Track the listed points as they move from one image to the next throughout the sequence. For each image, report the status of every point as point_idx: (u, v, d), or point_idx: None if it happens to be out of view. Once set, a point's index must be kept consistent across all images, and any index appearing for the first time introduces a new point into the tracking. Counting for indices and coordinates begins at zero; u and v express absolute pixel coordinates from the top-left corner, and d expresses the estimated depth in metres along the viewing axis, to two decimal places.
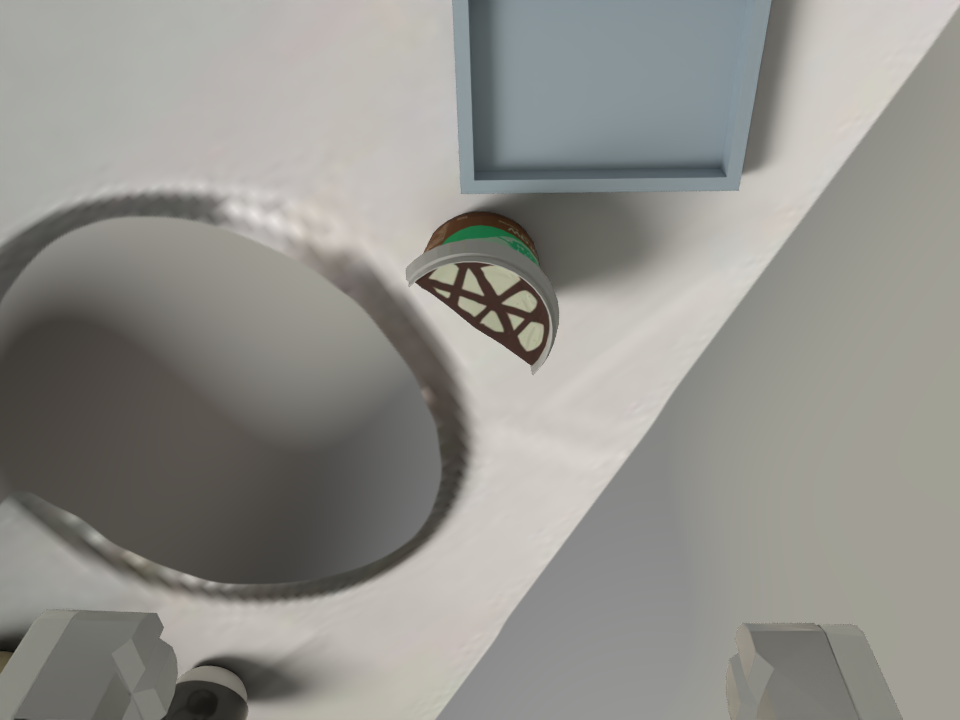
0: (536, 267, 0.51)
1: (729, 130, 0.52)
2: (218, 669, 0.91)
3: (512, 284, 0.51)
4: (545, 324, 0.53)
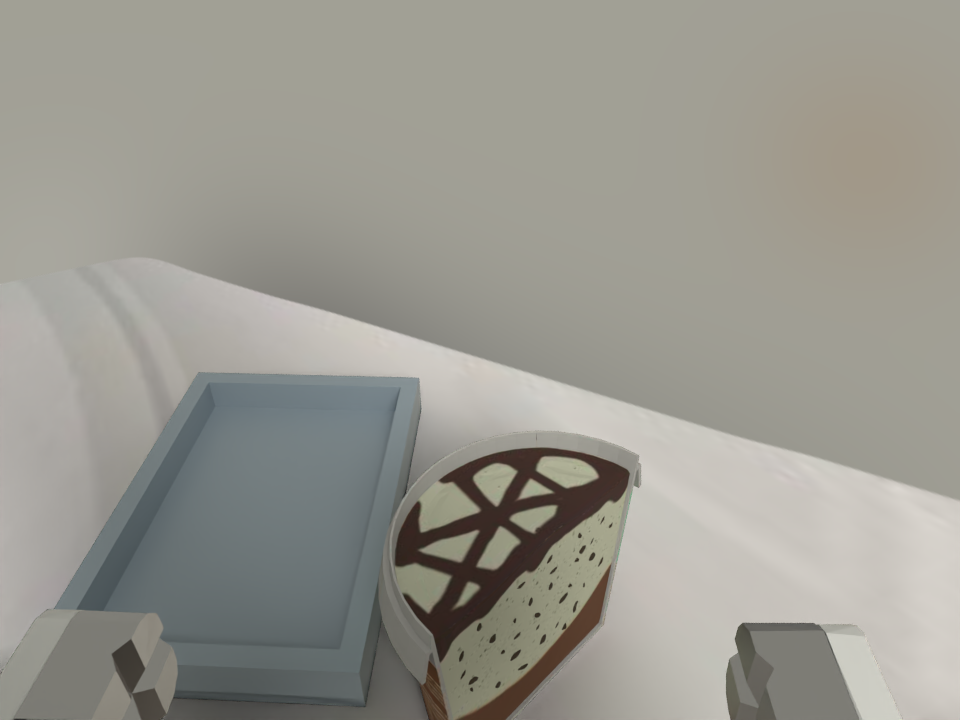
0: None
1: (354, 400, 0.47)
2: None
3: (459, 491, 0.29)
4: (541, 453, 0.31)
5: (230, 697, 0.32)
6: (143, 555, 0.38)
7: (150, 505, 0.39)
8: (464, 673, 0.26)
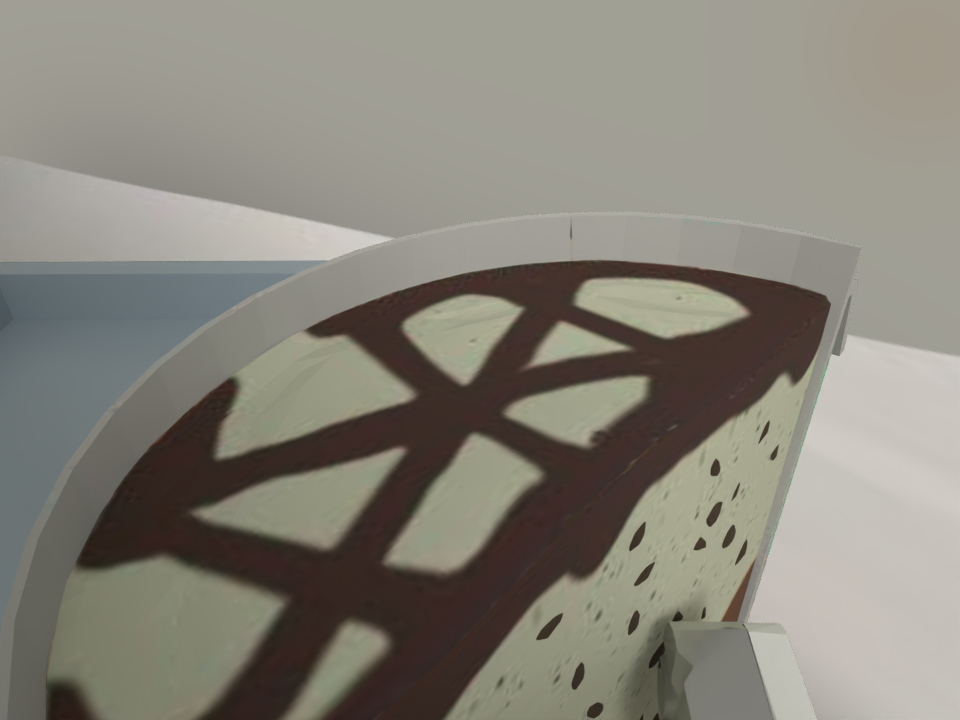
0: None
1: None
2: None
3: (360, 354, 0.10)
4: (584, 273, 0.12)
5: None
6: None
7: None
8: None
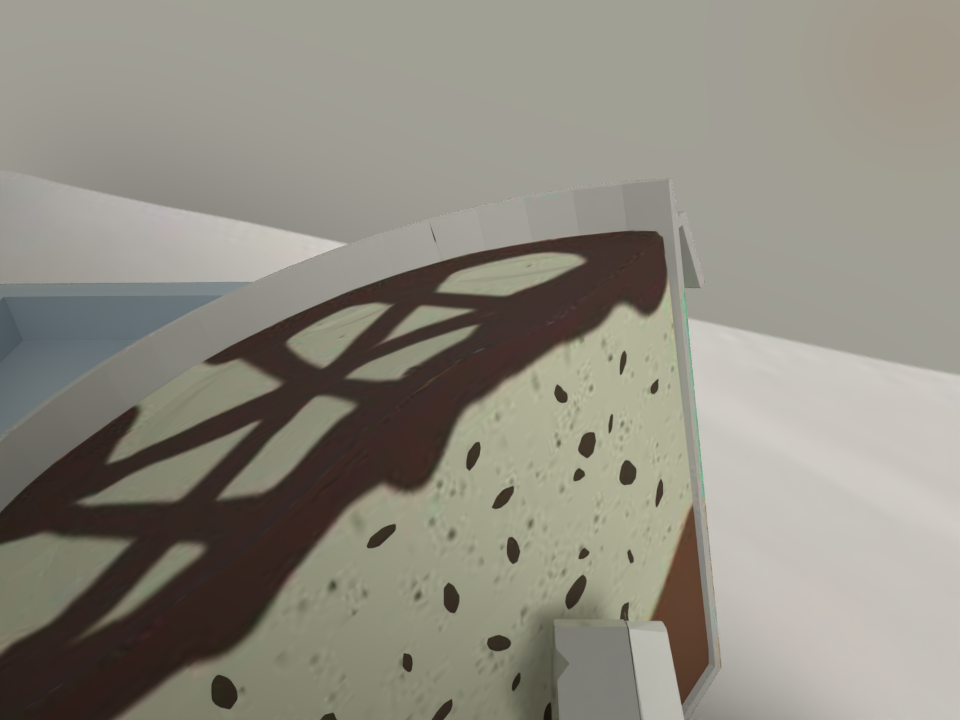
0: None
1: None
2: None
3: (246, 367, 0.12)
4: (452, 268, 0.13)
5: None
6: None
7: None
8: None
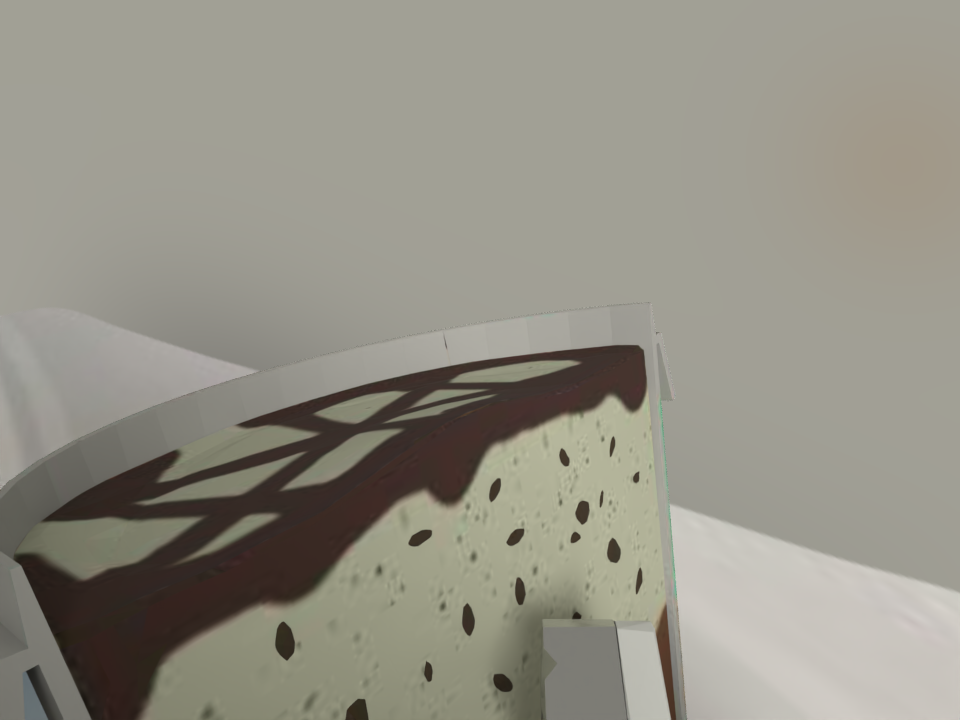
0: None
1: None
2: None
3: (279, 428, 0.13)
4: (460, 371, 0.15)
5: None
6: None
7: None
8: None
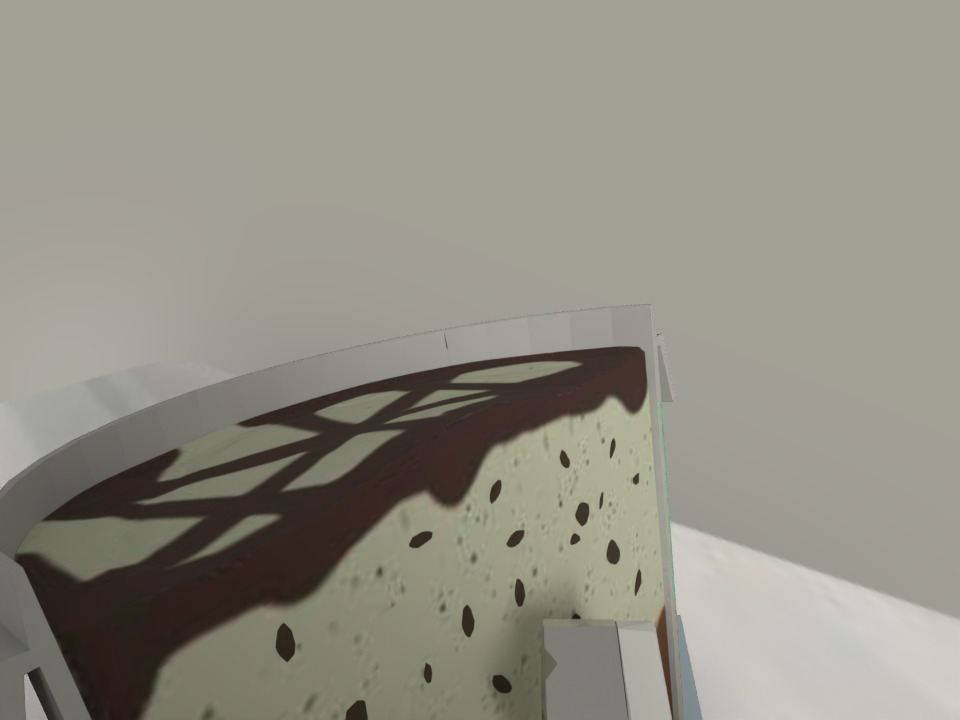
0: None
1: None
2: None
3: (279, 427, 0.13)
4: (461, 370, 0.15)
5: None
6: None
7: None
8: None
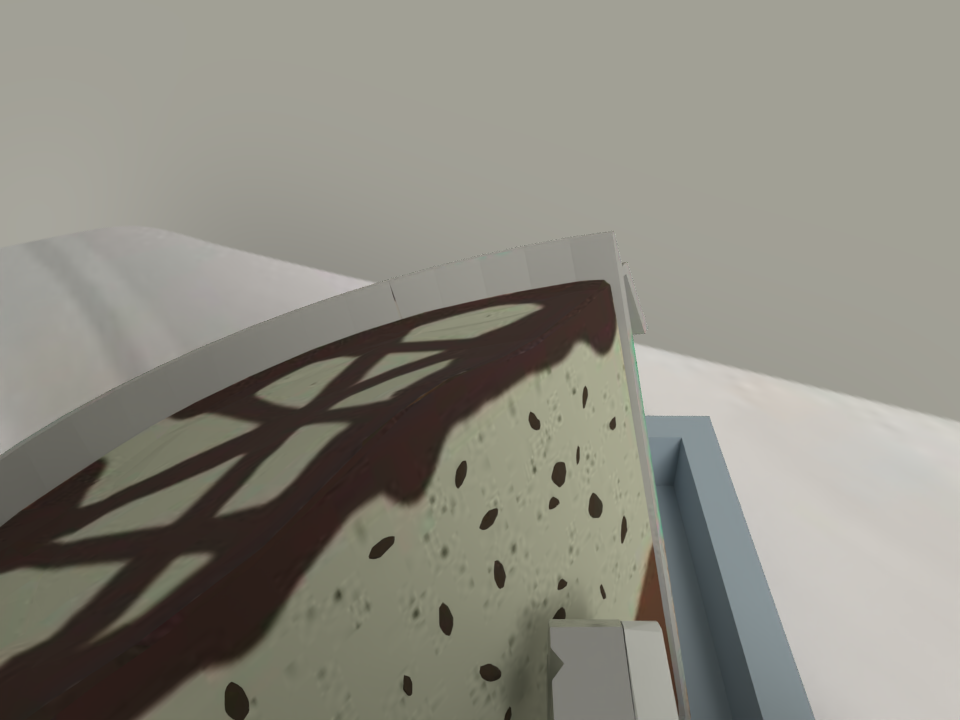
0: None
1: None
2: None
3: (216, 417, 0.12)
4: (412, 324, 0.14)
5: None
6: None
7: None
8: None
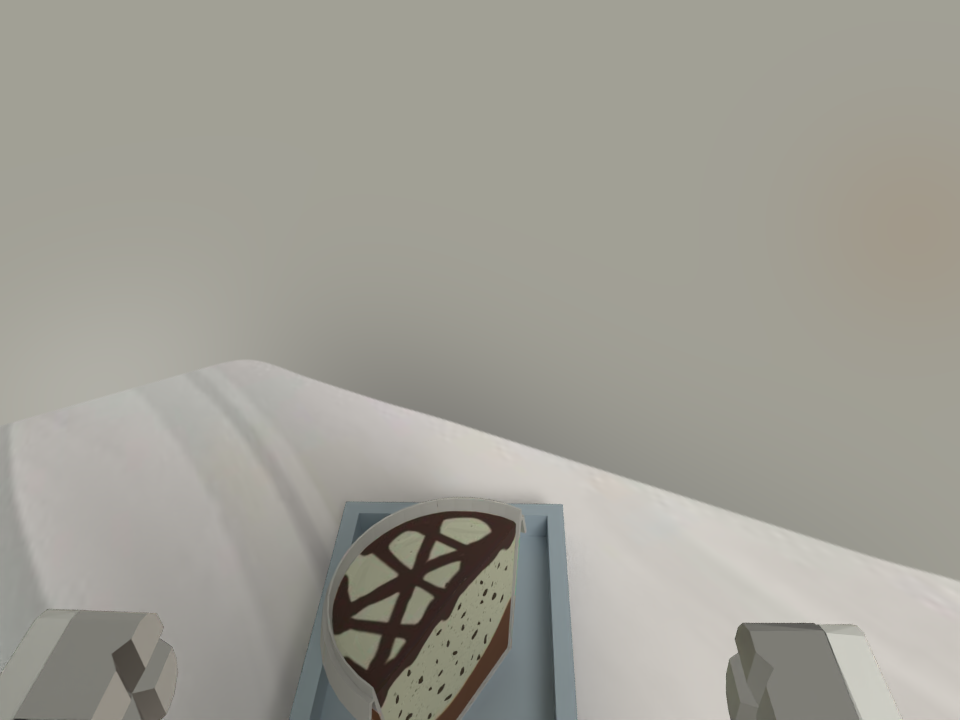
0: None
1: None
2: None
3: (379, 560, 0.35)
4: (442, 517, 0.37)
5: None
6: (332, 707, 0.39)
7: None
8: (401, 712, 0.32)
